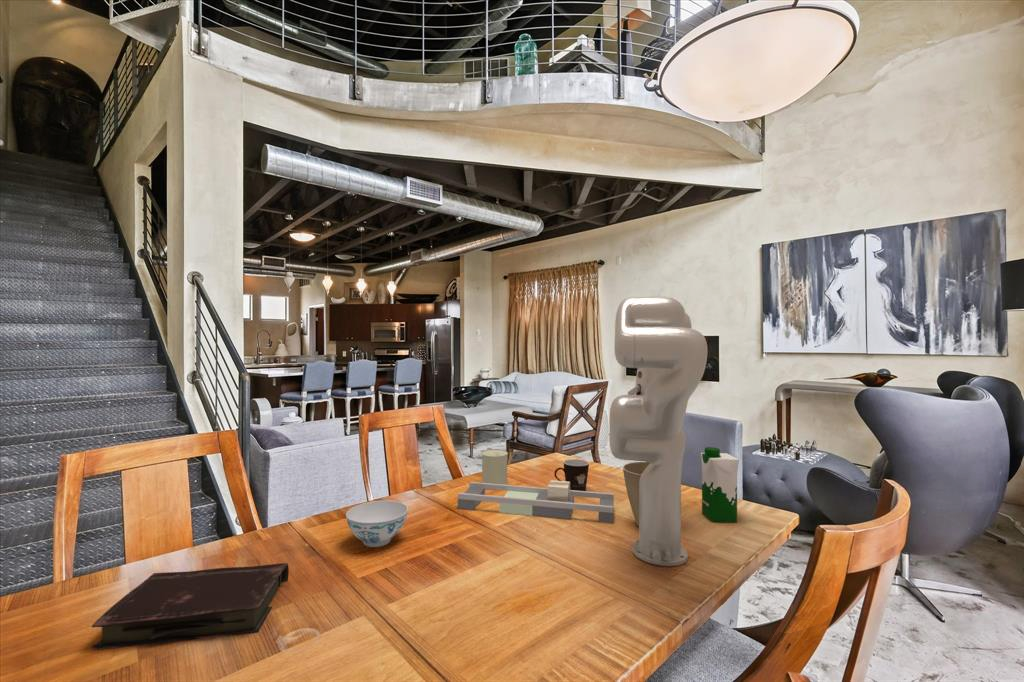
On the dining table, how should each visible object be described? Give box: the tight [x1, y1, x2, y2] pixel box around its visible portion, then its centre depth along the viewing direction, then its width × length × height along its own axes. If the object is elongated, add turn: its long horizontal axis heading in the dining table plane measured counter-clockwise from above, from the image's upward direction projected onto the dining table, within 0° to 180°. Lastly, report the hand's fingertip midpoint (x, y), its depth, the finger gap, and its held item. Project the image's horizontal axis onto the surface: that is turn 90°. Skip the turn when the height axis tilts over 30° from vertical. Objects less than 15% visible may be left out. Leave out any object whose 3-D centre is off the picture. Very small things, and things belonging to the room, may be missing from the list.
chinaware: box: [345, 499, 409, 548], centre depth 114 cm, size 15×15×8 cm
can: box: [481, 449, 509, 491], centre depth 159 cm, size 9×9×12 cm
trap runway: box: [457, 481, 615, 524], centre depth 137 cm, size 12×46×4 cm, turn 77°
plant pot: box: [622, 461, 651, 527], centre depth 125 cm, size 15×15×16 cm
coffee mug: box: [554, 458, 590, 491], centre depth 153 cm, size 12×9×10 cm
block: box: [547, 479, 570, 502], centre depth 136 cm, size 6×6×5 cm
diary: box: [90, 562, 290, 650], centre depth 84 cm, size 19×25×5 cm
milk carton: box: [700, 446, 740, 523], centre depth 131 cm, size 9×9×20 cm
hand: (652, 419), depth 132 cm, fingers open, 9 cm apart
